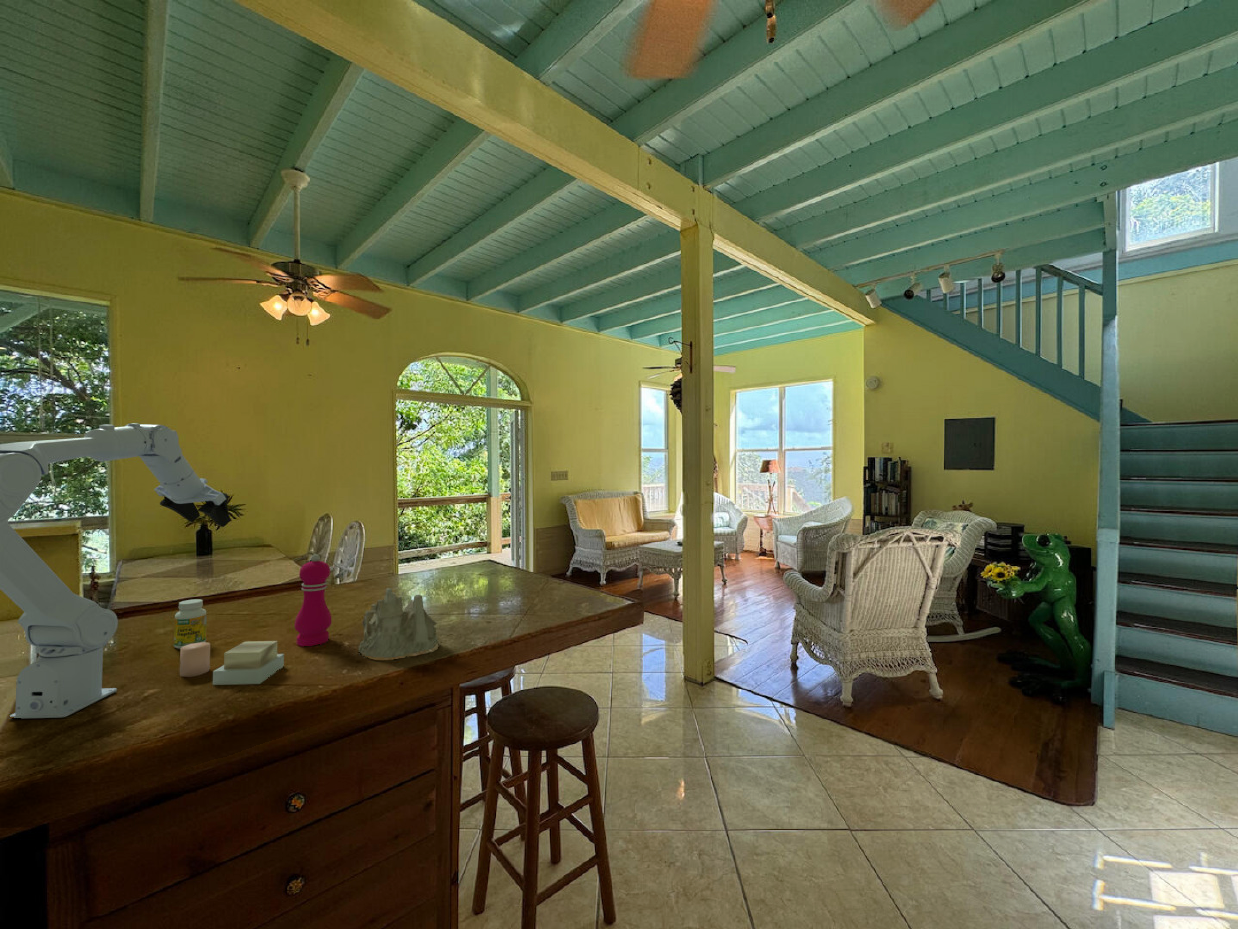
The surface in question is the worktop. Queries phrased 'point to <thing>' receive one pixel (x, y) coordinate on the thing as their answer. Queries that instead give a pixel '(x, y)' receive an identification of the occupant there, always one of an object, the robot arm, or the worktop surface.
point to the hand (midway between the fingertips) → (210, 521)
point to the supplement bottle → (190, 623)
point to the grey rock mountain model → (397, 628)
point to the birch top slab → (250, 655)
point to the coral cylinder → (194, 659)
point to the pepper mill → (313, 604)
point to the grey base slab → (247, 673)
